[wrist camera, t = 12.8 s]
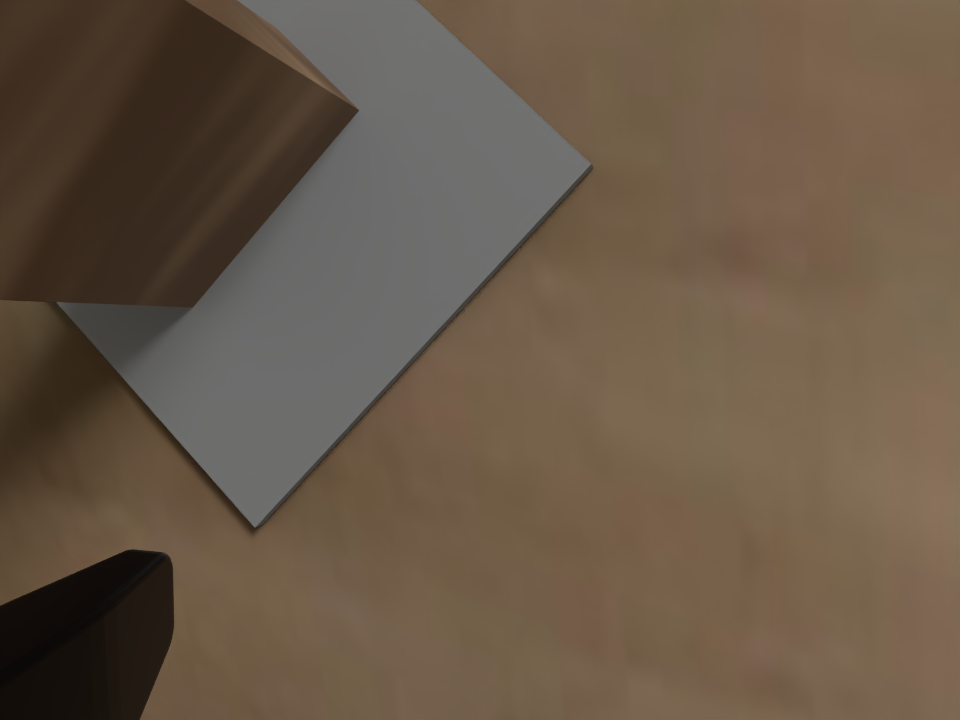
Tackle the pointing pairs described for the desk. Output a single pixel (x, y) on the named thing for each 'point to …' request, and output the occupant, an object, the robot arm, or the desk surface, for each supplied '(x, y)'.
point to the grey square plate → (345, 252)
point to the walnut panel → (147, 144)
